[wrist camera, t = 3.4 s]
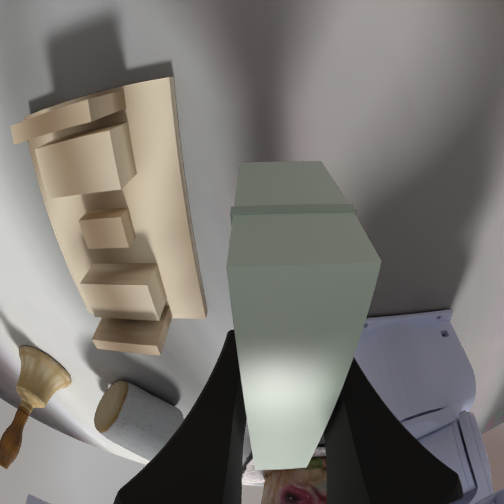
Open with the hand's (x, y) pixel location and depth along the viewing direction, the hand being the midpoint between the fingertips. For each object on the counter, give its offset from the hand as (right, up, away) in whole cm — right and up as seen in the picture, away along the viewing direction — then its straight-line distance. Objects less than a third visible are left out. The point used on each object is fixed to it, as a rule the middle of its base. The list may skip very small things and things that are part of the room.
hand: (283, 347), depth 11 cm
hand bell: (-28, -11, +20) cm, 36 cm away
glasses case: (0, +1, +1) cm, 2 cm away
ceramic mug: (-14, -14, +21) cm, 29 cm away
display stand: (-10, +6, +7) cm, 13 cm away
